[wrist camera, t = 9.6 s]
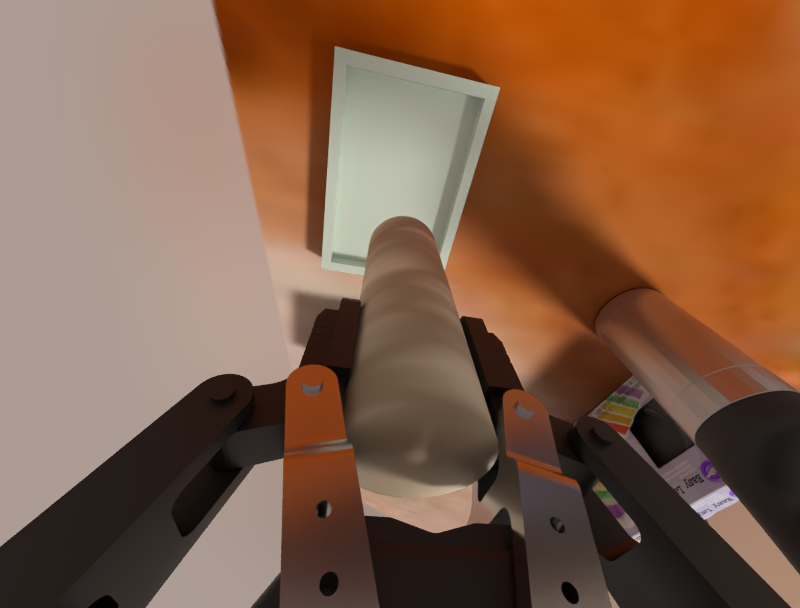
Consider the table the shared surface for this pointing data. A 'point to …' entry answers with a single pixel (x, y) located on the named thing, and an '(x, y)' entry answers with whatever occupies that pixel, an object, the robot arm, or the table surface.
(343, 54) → the sage tray
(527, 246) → the table surface
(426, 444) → the birch peg
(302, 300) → the table surface
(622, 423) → the cake pan box
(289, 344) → the table surface
